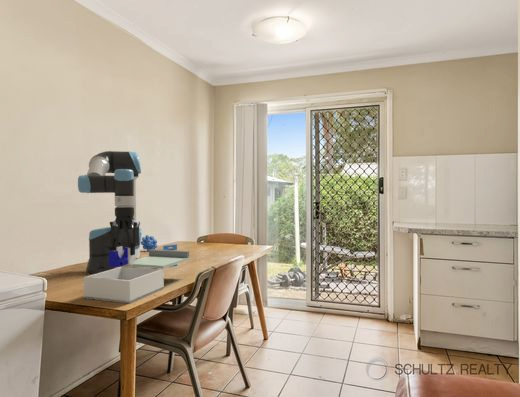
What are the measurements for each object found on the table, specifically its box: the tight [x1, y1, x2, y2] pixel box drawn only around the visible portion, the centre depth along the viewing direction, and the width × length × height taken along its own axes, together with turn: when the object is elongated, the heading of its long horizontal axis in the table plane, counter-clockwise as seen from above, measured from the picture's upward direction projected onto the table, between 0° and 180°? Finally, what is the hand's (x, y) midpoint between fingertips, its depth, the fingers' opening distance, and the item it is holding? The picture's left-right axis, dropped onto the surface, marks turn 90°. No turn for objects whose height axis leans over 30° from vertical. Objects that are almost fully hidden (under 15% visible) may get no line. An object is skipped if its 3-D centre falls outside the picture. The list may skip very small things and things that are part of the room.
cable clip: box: [109, 247, 129, 268], centre depth 147 cm, size 12×4×6 cm, turn 169°
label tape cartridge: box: [162, 243, 178, 267], centre depth 205 cm, size 9×4×12 cm, turn 133°
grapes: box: [140, 234, 158, 252], centre depth 259 cm, size 12×7×12 cm, turn 106°
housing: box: [83, 266, 165, 304], centre depth 148 cm, size 22×22×8 cm
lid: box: [123, 249, 190, 270], centre depth 169 cm, size 22×22×4 cm
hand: (125, 262), depth 148 cm, fingers closed on cable clip, 5 cm apart
